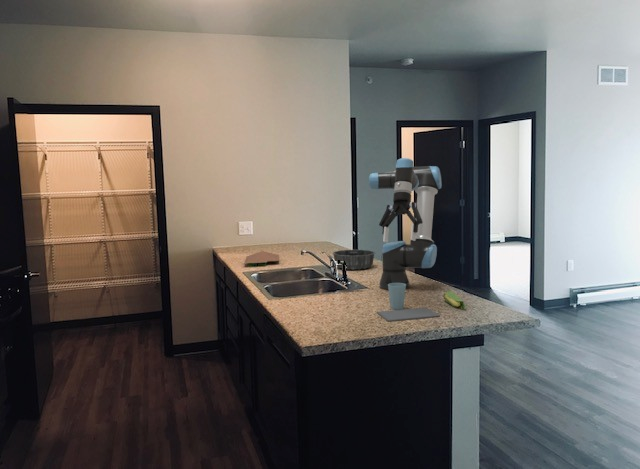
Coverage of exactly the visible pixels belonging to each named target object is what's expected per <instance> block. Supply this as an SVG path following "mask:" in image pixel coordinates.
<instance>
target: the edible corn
mask: <svg viewBox="0 0 640 469" xmlns="http://www.w3.org/2000/svg"><path fill="white" fill-rule="evenodd" d="M443 299H444V300H445V302H446V303H448V304H449V305H451V306H452V307H454V308H455V309H461V310H465V309H466V308H467V306H466V304H465V302H464V301H463V300H462V298H460V297H459V296H458V295H457V294H456V293H455V292H454V291H450V290H449V291H446V292H444V293H443Z"/></svg>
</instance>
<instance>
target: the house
mask: <svg viewBox="0 0 640 469" xmlns="http://www.w3.org/2000/svg"><path fill="white" fill-rule="evenodd" d="M279 261H280V254H278V253H277V254H276V253H272V252H268V251H263V250H261V251H258V252H255V253H253V254H249V255H246V257H245V259H244V263H243V264H245V267H247V265H248V267H249V266H250V267H251V264H252V265H253V266H254V265H255V266H256V265H257V264H258V266H260V264H261V265H262V266H263V265H264V266H266V265H267V264H270V262H273V263H278V262H279ZM246 264H247V265H246ZM258 266H257V267H258Z"/></svg>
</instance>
